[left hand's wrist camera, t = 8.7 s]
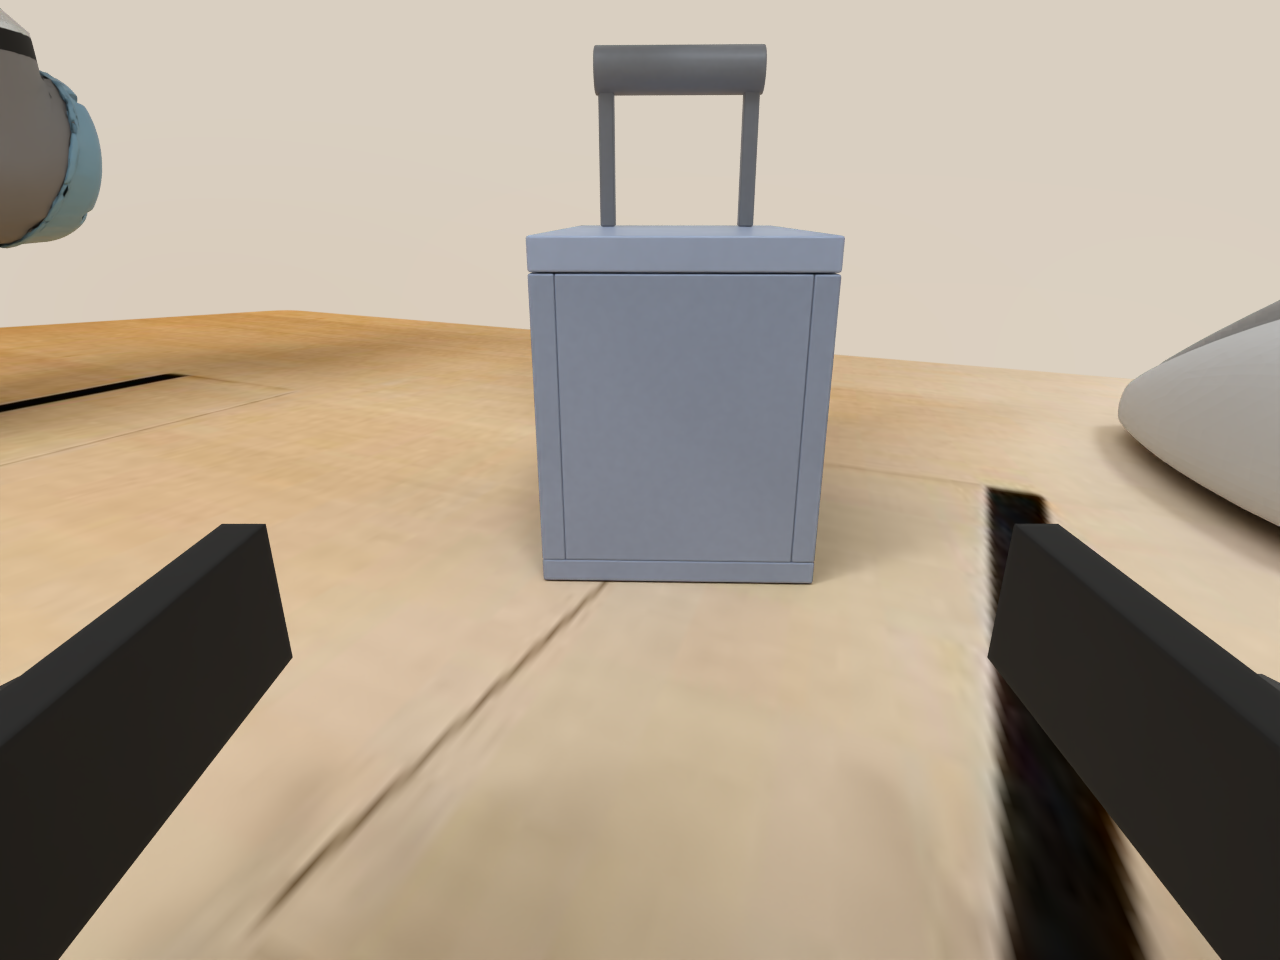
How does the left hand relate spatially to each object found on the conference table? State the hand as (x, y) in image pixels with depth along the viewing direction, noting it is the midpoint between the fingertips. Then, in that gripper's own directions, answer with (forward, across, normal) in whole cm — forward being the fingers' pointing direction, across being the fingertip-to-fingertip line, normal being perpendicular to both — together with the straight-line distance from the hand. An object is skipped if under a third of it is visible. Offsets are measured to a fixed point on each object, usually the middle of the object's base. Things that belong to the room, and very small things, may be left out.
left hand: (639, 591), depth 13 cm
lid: (+20, +2, +4) cm, 21 cm away
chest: (+20, +2, -7) cm, 21 cm away
